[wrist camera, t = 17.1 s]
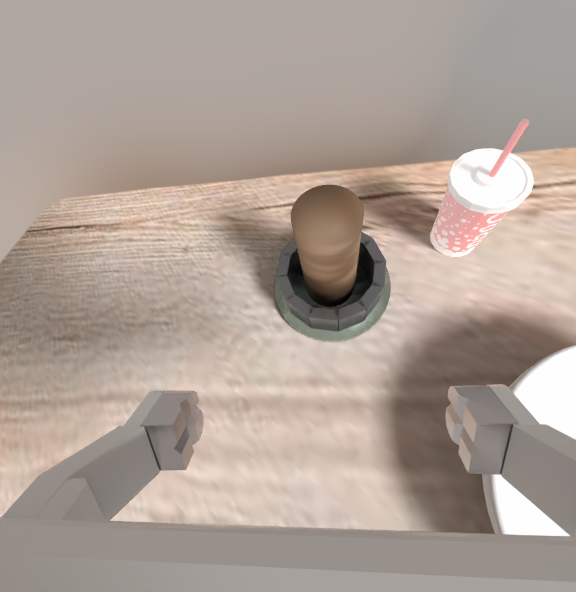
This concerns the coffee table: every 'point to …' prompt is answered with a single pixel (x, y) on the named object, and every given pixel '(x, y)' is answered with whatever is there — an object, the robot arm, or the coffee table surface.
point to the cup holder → (339, 319)
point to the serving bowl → (547, 410)
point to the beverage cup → (480, 196)
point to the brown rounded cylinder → (328, 241)
